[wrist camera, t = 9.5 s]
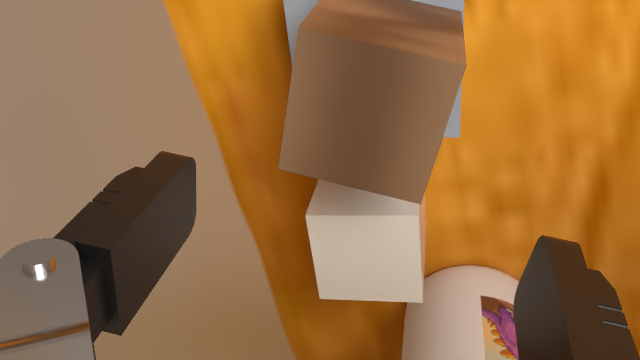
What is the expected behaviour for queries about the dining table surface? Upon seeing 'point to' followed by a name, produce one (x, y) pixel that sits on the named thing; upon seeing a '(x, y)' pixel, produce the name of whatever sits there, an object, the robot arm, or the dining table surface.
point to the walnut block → (372, 94)
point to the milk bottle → (462, 316)
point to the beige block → (366, 244)
